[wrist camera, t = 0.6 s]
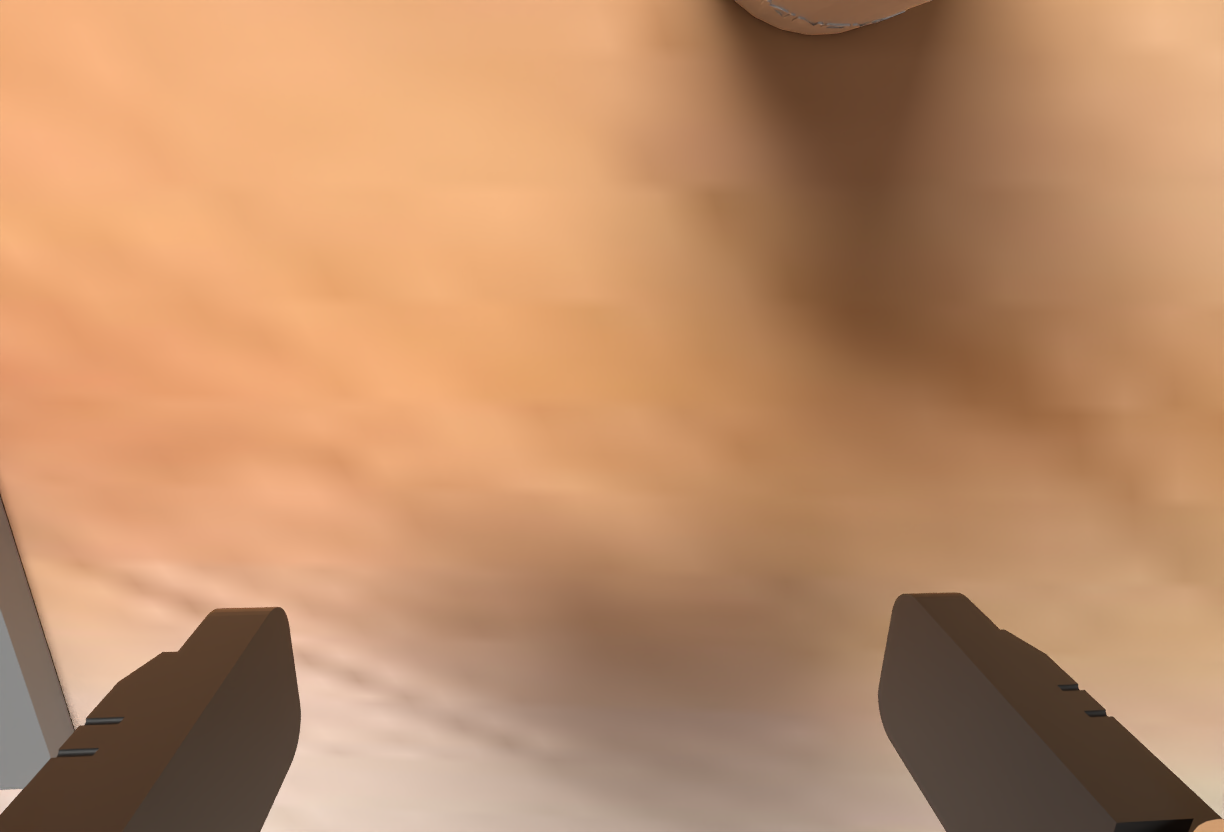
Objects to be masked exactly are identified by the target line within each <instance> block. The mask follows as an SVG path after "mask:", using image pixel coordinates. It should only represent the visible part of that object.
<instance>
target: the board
mask: <svg viewBox="0 0 1224 832" xmlns="http://www.w3.org/2000/svg"><path fill="white" fill-rule="evenodd" d="M73 732H74V729H73V725H72V722H71V719H70V716H69V713H68V710H67V706H66V703H65V700H64V697H63V694H62V691H61V687H60V684H59V681H58V678H57V675H56V672H55V668H54V665H53V662H52V659H51V656H50V653H49V650H48V646H47V643H46V640H45V637H44V634H43V631H42V627H41V624H40V621H39V618H38V615H37V612H36V608H35V605H34V602H33V599H32V596H31V593H30V589H29V586H28V583H27V580H26V577H25V574H24V570H23V567H22V564H21V561H20V558H19V555H18V551H17V548H16V545H15V542H14V539H13V536H12V532H11V529H10V526H9V523H8V520H7V517H6V513H5V510H4V507H3V504H2V501H1V498H0V790H5V789H24V788H25V787H26V785H27V784H28V783H29V782H30V781H31V780H32V779H33V778H34V776H35V775H36V774H37V773H38V772H39V771H40V770H41V769H42V767H43V766H44V765H45V764H46V763H47V762H48V761H49V760H50V758H56V757H57V755H58V749H59V748H60V747H61V746H62V745H63V744H64V743H65V742H66V740H67V739H68V738H69V737H70V736H71V735H72V734H73Z"/></svg>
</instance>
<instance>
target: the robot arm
mask: <svg viewBox="0 0 1224 832" xmlns="http://www.w3.org/2000/svg"><path fill="white" fill-rule="evenodd" d="M734 1H735V2H737V3H738V4H739V5H740V6H742V7H743V8H744V9H745V10H746V11H748V12H749V13H750V14H751V15H753V16H754V17H756V18H758V19H760V20H762V21H764V22H766V23H768V24H770V25H773V26H775V27H777V28H779V29H781V30H786V31H791V32H796V33H801V34H807V35H820V34H837V33H842V32H845V31H848V30H852V29H855V28H858V27H862V26H865V25H868V24H872V23H873V24H874V23H877V22H880V21H883V20H885V19H888V18H890V17H893V16H896V15H898V14H901V13H903V12H905V11H906V10H907V9H910V8H913V7H916V6H918V5H921V4H924V3H927V2H929V1H932V0H734ZM878 702H879V710H880V715H881V719H882V723H883V726H884V729H885V731H886V734H887V736H888V738H889V740H890V741H891V743H892V745H893V746H894V748H895V749H896V751H897V753H898V754H899V756H900V758H901V759H902V761H903V762H904V764H905V766H906V767H907V769H908V770H909V772H910V774H911V775H912V777H913V779H914V780H915V782H916V783H917V785H918V787H919V788H920V790H921V791H922V793H923V795H924V796H925V798H926V800H927V801H928V803H929V804H930V806H931V808H932V809H933V811H934V813H935V814H936V816H937V817H938V819H939V821H940V822H941V824H942V825H943V827H944V829H945V830H946V832H1224V819H1222V818H1221V817H1220V816H1219V815H1218V814H1217V813H1216V812H1215V811H1213V810H1212V809H1211V808H1210V807H1209V806H1208V805H1207V804H1206V803H1205V802H1204V801H1203V800H1202V799H1201V798H1200V797H1198V796H1197V795H1196V794H1195V793H1194V792H1193V791H1192V790H1191V789H1190V788H1189V787H1188V786H1187V785H1186V784H1185V783H1183V782H1182V781H1181V780H1180V779H1179V778H1178V777H1177V776H1176V775H1175V774H1174V773H1173V772H1172V771H1171V770H1170V769H1168V768H1167V767H1166V766H1165V765H1164V764H1163V763H1162V762H1161V761H1160V760H1159V759H1158V758H1157V757H1156V756H1154V755H1153V754H1152V753H1151V752H1150V751H1149V750H1148V749H1147V748H1146V747H1145V746H1144V745H1143V744H1142V743H1141V742H1139V741H1138V740H1137V739H1136V738H1135V737H1134V736H1133V735H1132V734H1131V733H1130V732H1129V731H1128V730H1127V729H1126V728H1124V727H1123V726H1122V725H1121V724H1120V723H1119V722H1118V721H1117V720H1116V719H1115V718H1114V717H1108V716H1107V715H1106V712H1105V711H1106V710H1105V709H1104V708H1103V707H1102V706H1101V705H1100V704H1099V703H1098V702H1097V701H1096V700H1094V699H1093V698H1092V697H1091V696H1090V695H1089V694H1088V693H1087V692H1086V691H1085V690H1079V688H1078V684H1077V683H1076V682H1075V681H1074V680H1073V679H1072V678H1071V677H1070V676H1069V675H1068V674H1067V673H1066V672H1064V671H1063V670H1062V669H1061V668H1060V667H1059V666H1058V665H1057V664H1056V663H1055V662H1054V661H1053V660H1052V659H1051V658H1049V657H1048V656H1047V655H1046V654H1045V653H1043V652H1041V651H1040V650H1038V649H1036V648H1035V647H1033V646H1031V645H1030V644H1028V643H1026V642H1024V641H1023V640H1021V639H1019V638H1018V637H1016V636H1014V635H1013V634H1011V633H1009V632H1008V631H1006V630H1000V629H999V628H998V627H997V626H996V625H995V624H994V623H993V622H992V621H991V620H990V619H989V618H988V617H987V616H985V615H984V614H983V613H982V612H981V611H980V610H979V609H978V608H977V607H976V606H975V605H974V604H973V603H972V602H971V601H970V600H969V599H968V598H967V597H966V596H964V595H962V594H960V593H919V594H902V595H900V596H899V597H898V598H897V600H896V601H895V603H894V606H893V610H892V615H891V621H890V626H889V632H888V638H887V643H886V649H885V655H884V660H883V666H882V671H881V677H880V683H879V690H878ZM300 722H301V709H300V700H299V693H298V686H297V679H296V671H295V664H294V657H293V650H292V643H291V635H290V628H289V622H288V618H287V615H286V613H285V611H284V610H283V609H282V608H280V607H264V608H222V609H215V610H213V611H212V612H210V613H209V614H208V615H207V617H206V618H205V619H204V620H203V621H202V623H201V624H200V625H199V626H198V628H197V629H196V630H195V631H194V633H193V634H192V635H191V636H190V637H189V639H188V640H187V641H186V642H185V644H184V645H183V646H182V647H181V648H180V650H179V651H178V652H162V653H161V654H159V655H158V656H156V657H155V658H153V659H152V660H150V661H149V662H147V663H146V664H144V665H143V666H141V667H140V668H139V669H137V670H136V671H134V672H133V673H131V674H130V675H128V676H127V677H125V678H124V679H122V680H121V681H119V682H118V683H117V684H116V685H115V686H114V687H113V689H112V690H111V691H110V692H109V693H108V694H107V695H106V696H105V698H104V699H103V700H102V701H101V702H100V703H99V704H98V705H97V707H96V708H95V709H94V710H93V711H92V712H91V713H90V714H89V716H88V717H87V718H86V723H85V725H84V726H79V727H78V728H77V729H76V730H75V731H74V732H73V734H72V735H71V736H70V737H69V738H68V739H67V740H66V742H65V743H64V744H63V745H62V746H61V747H60V748H59V749H58V755H57V757H56V758H50V760H49V761H48V762H47V763H46V764H45V765H44V766H43V767H42V769H41V770H40V771H39V772H38V773H37V774H36V775H35V776H34V778H33V779H32V780H31V781H30V782H29V783H28V784H27V785H26V787H25V788H24V789H23V790H22V791H21V792H20V793H19V794H18V796H17V797H16V798H15V799H14V800H13V801H12V802H11V804H10V805H9V806H8V807H7V808H6V809H5V810H4V811H3V813H2V814H1V815H0V832H260V831H261V829H262V827H263V824H264V822H265V820H266V818H267V816H268V814H269V811H270V809H271V807H272V805H273V803H274V800H275V798H276V796H277V794H278V792H279V789H280V787H281V785H282V783H283V781H284V779H285V776H286V774H287V772H288V770H289V768H290V765H291V763H292V761H293V758H294V755H295V752H296V748H297V744H298V739H299V732H300Z"/></svg>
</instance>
